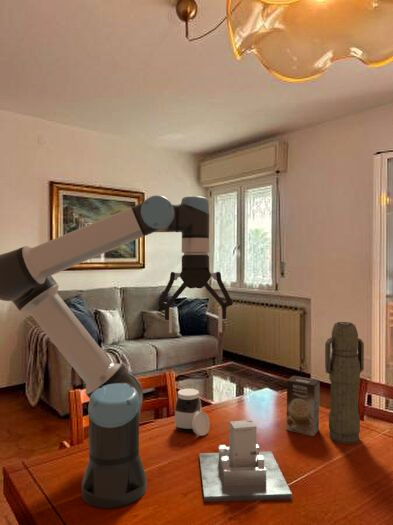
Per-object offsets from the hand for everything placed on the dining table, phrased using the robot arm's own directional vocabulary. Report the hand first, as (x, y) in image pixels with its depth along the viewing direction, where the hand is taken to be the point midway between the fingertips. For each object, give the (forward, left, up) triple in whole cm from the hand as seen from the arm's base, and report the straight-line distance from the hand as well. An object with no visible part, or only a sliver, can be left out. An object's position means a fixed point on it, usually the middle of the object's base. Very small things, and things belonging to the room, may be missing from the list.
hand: (195, 331), depth 110 cm
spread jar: (0, +18, -35) cm, 39 cm away
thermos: (+46, +10, -35) cm, 59 cm away
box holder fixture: (+11, -10, -35) cm, 38 cm away
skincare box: (+11, -10, -34) cm, 37 cm away
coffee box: (+35, +16, -35) cm, 52 cm away
